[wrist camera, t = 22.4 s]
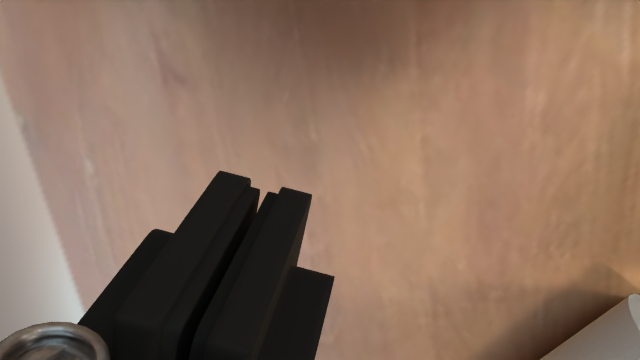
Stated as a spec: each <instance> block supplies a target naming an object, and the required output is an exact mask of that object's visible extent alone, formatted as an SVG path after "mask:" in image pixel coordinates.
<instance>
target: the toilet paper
mask: <svg viewBox="0 0 640 360" xmlns="http://www.w3.org/2000/svg"><path fill="white" fill-rule="evenodd" d="M540 360H640V295H639V294H631V295H630V296H628V297H627V298H625V299H624V300H623V301H621V302H620V303H618V304H617V305H616V306H614V307H613V308H611V309H610V310H609V311H607V312H606V313H604V314H603V315H602V316H600V317H599V318H597V319H596V320H595V321H593V322H592V323H590V324H589V325H588V326H586V327H585V328H583V329H582V330H581V331H579V332H578V333H576V334H575V335H573V336H572V337H571V338H569V339H568V340H566V341H565V342H564V343H562V344H561V345H559V346H558V347H557V348H555V349H554V350H552V351H551V352H550V353H548V354H547V355H545V356H544V357H543V358H541V359H540Z"/></svg>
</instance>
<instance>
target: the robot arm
mask: <svg viewBox="0 0 640 360" xmlns="http://www.w3.org/2000/svg"><path fill="white" fill-rule="evenodd" d="M259 196H260V189H257V188H253V187H251V180H250V178H247V177H243V176H239V175H235V174H232V173H228V172H224V171H219V172H218V173H217V174H216V176H215V177H214V178H213V180H212V181H211V183H210V184H209V185H208V187H207V188H206V190H205V191H204V192H203V194H202V195H201V196H200V198H199V199H198V201H197V202H196V203H195V205H194V206H193V208H192V209H191V210H190V212H189V213H188V215H187V216H186V217H185V219H184V220H183V221H182V223H181V224H180V226H179V227H178V228H177V230H176V231H175V233H170V232H167V231H163V230H159V229H154V230H152V231H151V232H150V233H149V234H148V235H147V236H146V238H145V239H144V240H143V241H142V243H141V244H140V245H139V246H138V248H137V249H136V250H135V252H134V253H133V254H132V255H131V257H130V258H129V259H128V260H127V262H126V263H125V264H124V265H123V267H122V268H121V269H120V270H119V272H118V273H117V274H116V276H115V277H114V278H113V279H112V281H111V282H110V283H109V284H108V286H107V287H106V288H105V289H104V291H103V292H102V293H101V294H100V296H99V297H98V298H97V300H96V301H95V302H94V303H93V305H92V306H91V307H90V308H89V310H88V311H87V312H86V313H85V315H84V316H83V317H82V319H81V320H80V321H79V322H78V324H74V323H69V322H48V323H42V324H37V325H32V326H30V327H27V328H24V329H21V330H19V331H16V332H15V333H13V334H11V335H10V336H8V337H7V338H5V339H4V340H2V341H1V342H0V360H315V355H316V351H317V347H318V343H319V339H320V335H321V331H322V327H323V323H324V319H325V315H326V310H327V306H328V302H329V298H330V294H331V290H332V286H333V282H334V276H330V275H327V274H323V273H319V272H316V271H312V270H308V269H304V268H301V267H297V262H298V257H299V253H300V249H301V244H302V240H303V235H304V231H305V226H306V222H307V217H308V213H309V208H310V204H311V199H312V194H308V193H304V192H300V191H297V190H293V189H289V188H285V187H282V188H281V189H280V191H279V193H278V194H276V193H272V192H268V193H267V194H266V196H265V198H264V200H263V202H262V204H261V206H260V208H259V210H258V212H257V208H258V202H259ZM256 213H257V214H256Z"/></svg>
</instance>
